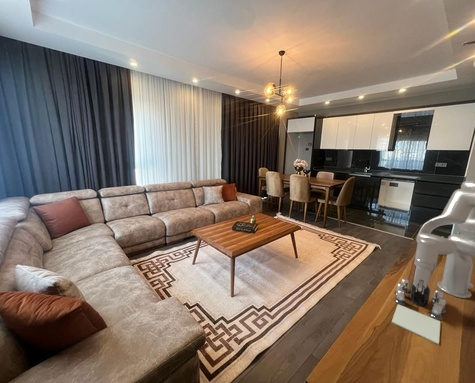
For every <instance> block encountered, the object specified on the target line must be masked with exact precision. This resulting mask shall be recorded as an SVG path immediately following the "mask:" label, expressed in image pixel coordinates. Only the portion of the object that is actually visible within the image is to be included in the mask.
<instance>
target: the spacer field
mask: <svg viewBox="0 0 475 383" xmlns="http://www.w3.org/2000/svg"><path fill="white" fill-rule="evenodd" d="M409 285H410V280H409V279H407V278H404V277H403V278H401V282H397V285H396V286H397V287H396V290H395V291H394V295H395V296H396V297H395V298H394V302H395V303H396V304H397V305H398V304H399V305H401V306H406V303H407V302H406V301H405V299H406V293H407V294H408V293H410V292H411V289H409ZM430 298H431V297H430ZM430 301H431V302H432V303H433V304H432V308H431V311H429V312H428V313H429V314H428V315H429V317H430V318H433V319H435V320H438V321H443V318H444V317H443V316H442V314H446V313H447V310H446V309H445V307H446V302H447V300H446V298H444V291H442V290H441V289H438V288H437V289H434V293H433V297H432V298H431V299H430Z"/></svg>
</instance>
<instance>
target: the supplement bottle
mask: <svg viewBox="0 0 475 383" xmlns="http://www.w3.org/2000/svg"><path fill="white" fill-rule="evenodd" d="M419 282H420V281H419ZM423 282H424V281H423ZM416 287H417V285H416V286H415V285H413V283H412V284H411V288H410V296H409V300H410V301H411V302H412V303H413V304H415V305H417V306H419V307H427V306H429V301H430V300H429V299H430V293H431V288H430V287H429V284H428V285H427V288H426V289H425V288H424V297H423V301H420V300H417V299H415V298H414V294H415V290H416ZM422 287H424V286H422ZM422 290H423V289H422Z"/></svg>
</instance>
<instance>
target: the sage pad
mask: <svg viewBox="0 0 475 383" xmlns="http://www.w3.org/2000/svg"><path fill="white" fill-rule="evenodd" d="M391 324H393V325H395V326H398V327H400V328H402V329H404V330H407V331H408V332H410V333H413V334H415V335H417V336H418V337H421V338H423V339H425V340H428V341H430V342H432V343H434V344H436V345H438V346H439V345H440V333H441V320H437V319H434V318H432V317H431V316H428V315H426V314H423V313H421V312H419V311H416V310H414V309H410V308H408V307H406V306H405V305H400V304H398V303H397V305H396V309H395V310H394V314H393V317H392V320H391Z"/></svg>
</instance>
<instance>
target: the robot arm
mask: <svg viewBox="0 0 475 383" xmlns="http://www.w3.org/2000/svg"><path fill="white" fill-rule="evenodd" d="M446 225H447V226H449V225H457V226H458V227H457V228H458V229H459V230H460V231H462V232H463V233H466V234H469V235H466V234H462V233H461V234H460V233H452V234H450V235H449V236H448V237H447V238H446V237H443V236H440V235H436V234H433V233H432V232H433V231H434V230H435V229H436V228H438V227H441V226H446ZM470 235H474V236H475V179H473V180H471V179H470V180H465V181H463V182H462V183H461V185H460V188H457V189H455V190H454V191H453V193H452V194H451V196H450V198H449V199H448V202H447V203H446V205H445V207H444V209H443V211H442V213H441V214H439V215H438V216H434V217H433V218H431V219H429V220H427V221H426V222H425V223H423V225H422V226H421V227H420V229H419V231H418V233H417V235H416V239H415V240H416V243H417V245H416V250H415V257H414V263H413V264H414V266H416V267H415V272H414V277H413V282H412V284H413V285H415V286H416V285H417V287H416V290H415V294H414V298H415V299H417V300H420V301H423V297H424V288H425V289H426V288H427V285H428V286H429V281H430V277H431V273H432V271H435V270H436V266H437V263H438V262H437V261H438V257H439V256H438V255H446V259H445V265H444V269H443V274H442V280H441V281H438V282H437V287H438V288H439V290H441V291H442V292H443V293H446V294H448V295H450V296H453V297H457V298H461V299H470V298H471V297H472V292H471V291H469V289H470V288H474V283H471V282H470V281H471V277H472V271H473V269H474V268H473V267H474V262H473V260H472V258H474V259H475V237H474V236H473V237H472V236H470ZM419 281H420V282H419ZM423 281H424V282H423ZM422 286H424V287H422ZM422 289H423V290H422Z"/></svg>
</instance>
